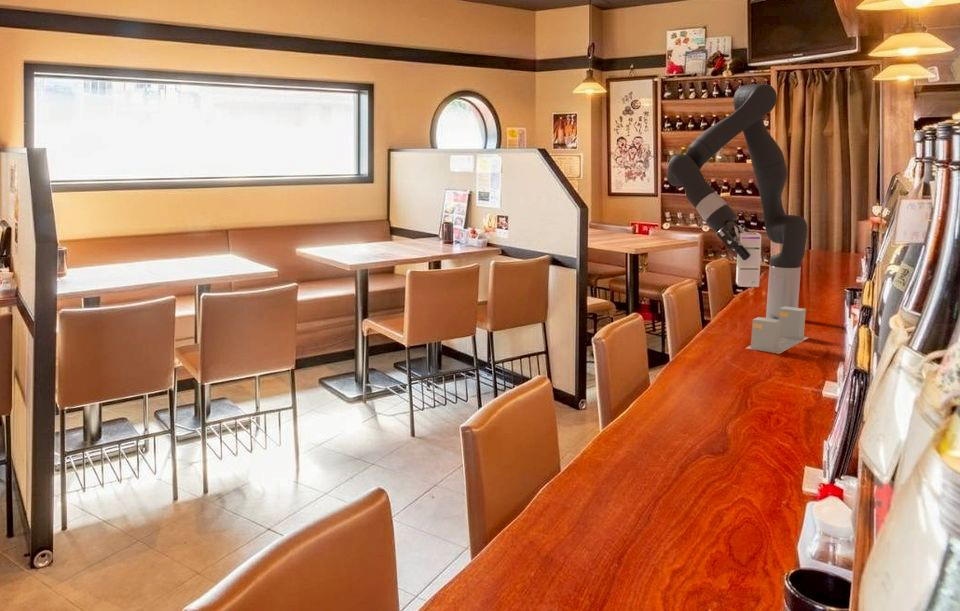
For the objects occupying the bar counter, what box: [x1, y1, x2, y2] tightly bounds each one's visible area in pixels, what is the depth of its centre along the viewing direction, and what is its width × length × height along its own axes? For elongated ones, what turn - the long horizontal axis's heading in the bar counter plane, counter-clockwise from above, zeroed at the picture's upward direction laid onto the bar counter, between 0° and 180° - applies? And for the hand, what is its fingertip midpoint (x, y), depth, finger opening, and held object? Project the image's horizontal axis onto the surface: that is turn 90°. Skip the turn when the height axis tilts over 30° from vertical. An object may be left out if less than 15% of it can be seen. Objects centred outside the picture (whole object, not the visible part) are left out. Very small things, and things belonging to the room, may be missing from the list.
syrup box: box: [735, 231, 762, 288], centre depth 207 cm, size 6×6×14 cm
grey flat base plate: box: [745, 336, 810, 355], centre depth 205 cm, size 23×9×1 cm, turn 138°
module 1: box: [750, 316, 781, 354], centre depth 197 cm, size 4×6×8 cm
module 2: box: [778, 306, 807, 339], centre depth 211 cm, size 4×6×8 cm
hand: (753, 256), depth 206 cm, fingers closed on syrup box, 8 cm apart
